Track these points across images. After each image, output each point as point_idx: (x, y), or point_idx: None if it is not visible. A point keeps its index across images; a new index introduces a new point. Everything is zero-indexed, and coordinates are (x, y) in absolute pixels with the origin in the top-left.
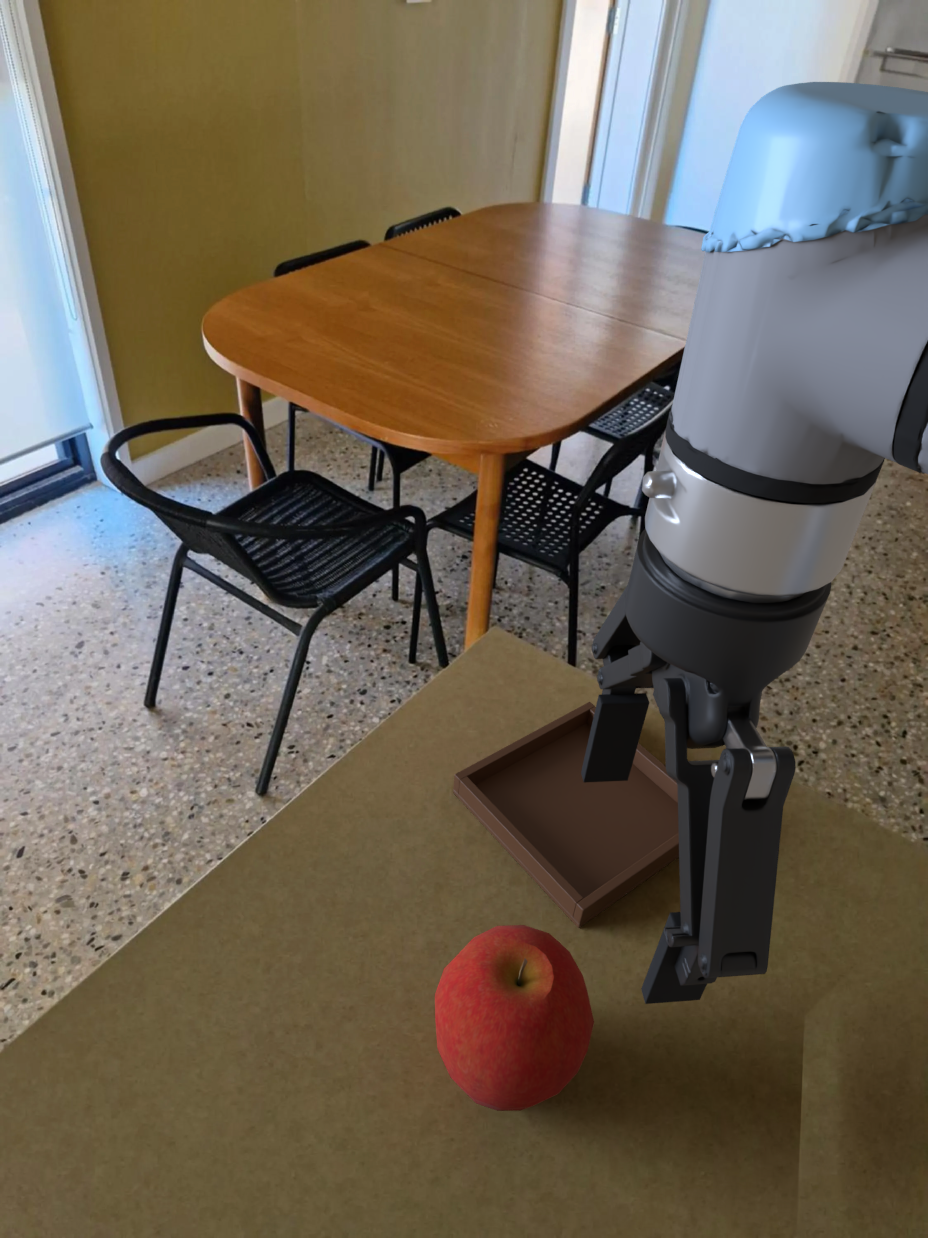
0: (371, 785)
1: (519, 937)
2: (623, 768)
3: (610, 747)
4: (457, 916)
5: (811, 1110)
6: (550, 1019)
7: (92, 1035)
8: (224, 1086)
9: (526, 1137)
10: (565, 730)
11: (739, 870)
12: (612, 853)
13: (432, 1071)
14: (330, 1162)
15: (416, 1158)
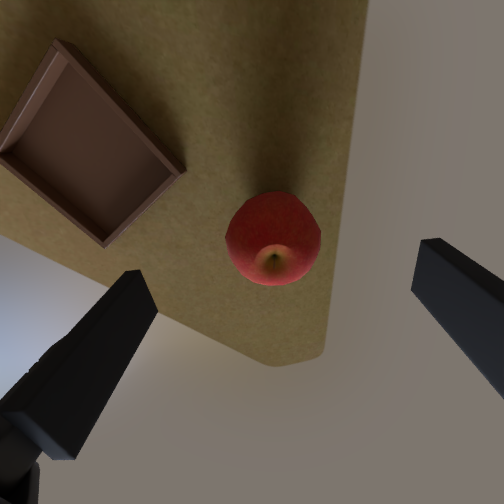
0: None
1: (249, 262)
2: (132, 291)
3: (121, 341)
4: (193, 237)
5: (295, 8)
6: (302, 244)
7: (264, 352)
8: (281, 315)
9: None
10: (29, 172)
11: None
12: (126, 143)
13: None
14: (310, 280)
15: None
